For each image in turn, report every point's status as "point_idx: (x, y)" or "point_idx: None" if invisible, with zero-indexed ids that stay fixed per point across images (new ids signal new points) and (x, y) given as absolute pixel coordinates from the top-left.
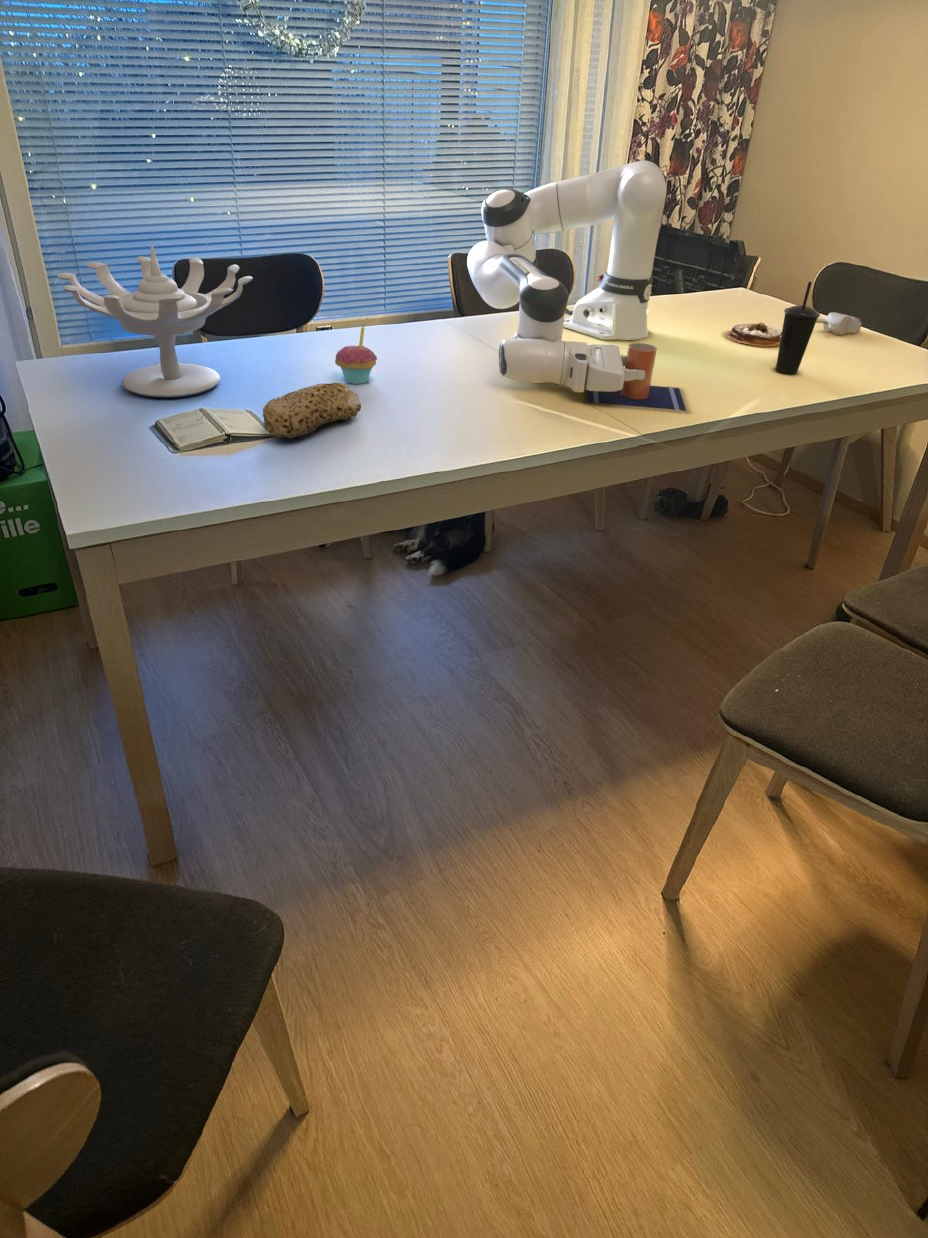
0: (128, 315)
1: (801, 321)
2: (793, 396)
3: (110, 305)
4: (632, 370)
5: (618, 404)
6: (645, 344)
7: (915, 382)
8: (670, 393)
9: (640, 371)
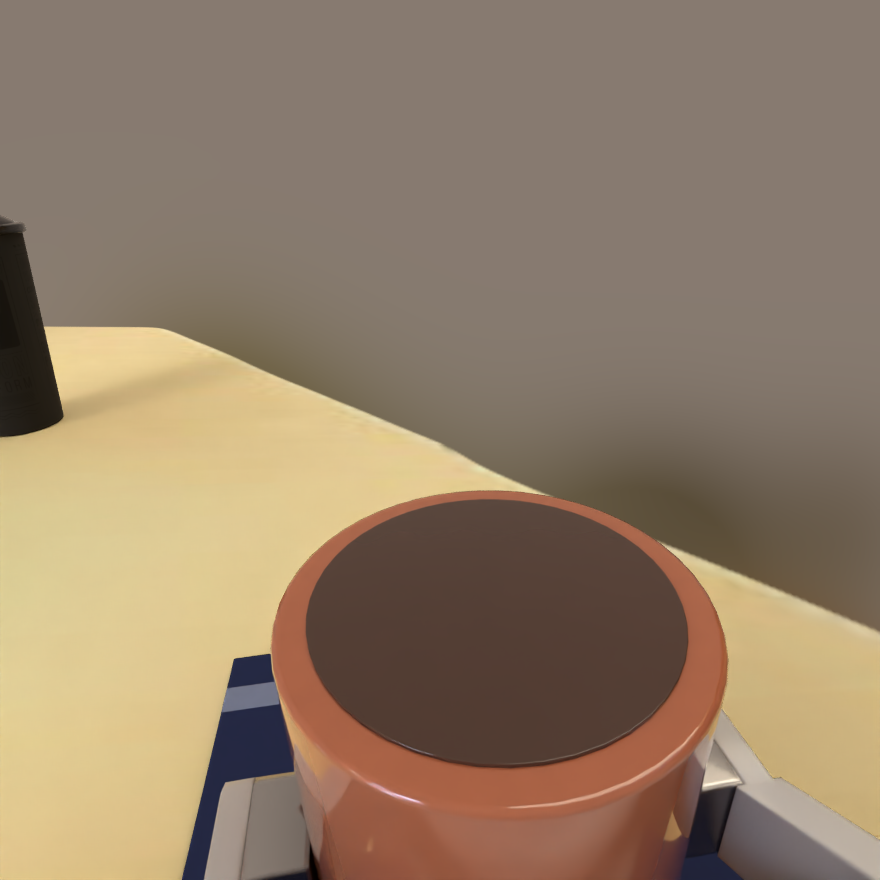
0: None
1: (14, 247)
2: (268, 412)
3: None
4: (845, 831)
5: None
6: (359, 577)
7: (152, 328)
8: None
9: (739, 742)
